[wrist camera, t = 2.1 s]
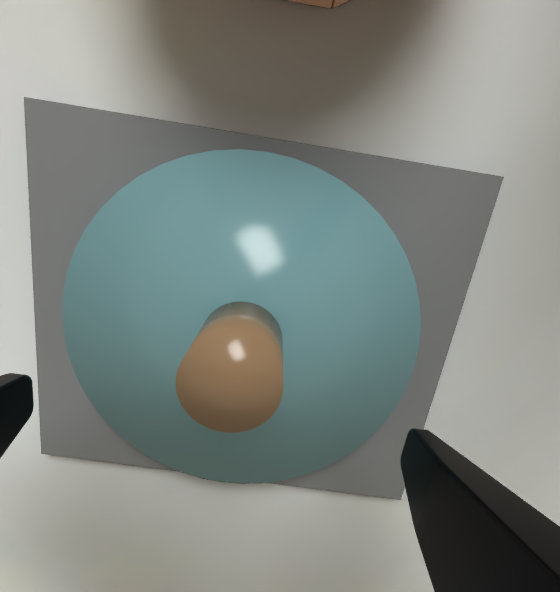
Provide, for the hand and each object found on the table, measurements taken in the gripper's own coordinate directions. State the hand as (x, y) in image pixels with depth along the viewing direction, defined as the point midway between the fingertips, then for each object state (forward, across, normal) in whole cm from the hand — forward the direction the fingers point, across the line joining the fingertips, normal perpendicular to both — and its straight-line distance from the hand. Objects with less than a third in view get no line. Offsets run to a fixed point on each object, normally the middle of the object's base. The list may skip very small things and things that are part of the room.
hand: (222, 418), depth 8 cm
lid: (+6, 0, 0) cm, 6 cm away
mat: (+6, 0, 0) cm, 6 cm away
